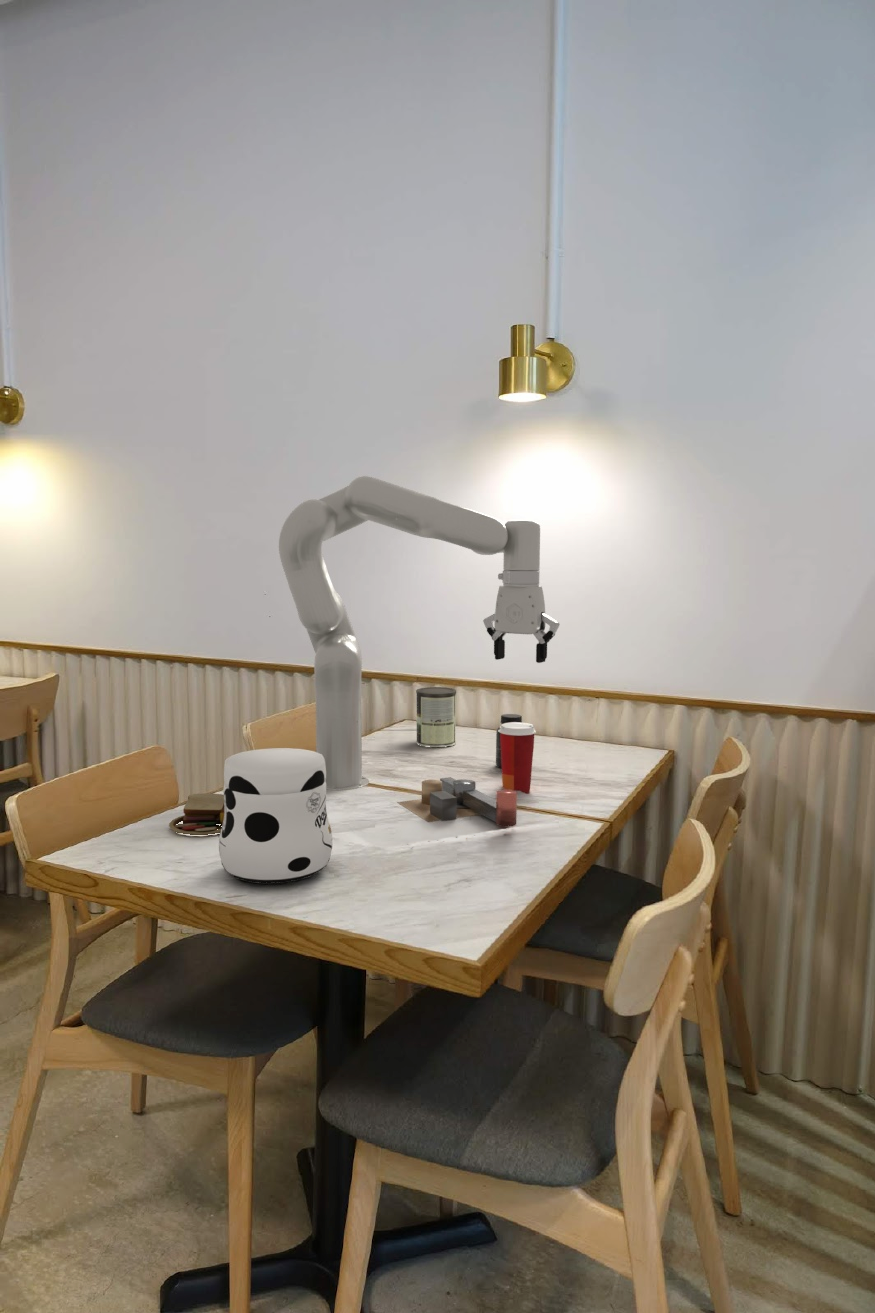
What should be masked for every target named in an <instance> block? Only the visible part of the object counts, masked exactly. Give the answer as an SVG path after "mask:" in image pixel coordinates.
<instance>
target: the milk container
mask: <svg viewBox="0 0 875 1313" xmlns="http://www.w3.org/2000/svg"><path fill="white" fill-rule="evenodd" d="M223 781H224V782H223V783H224V785H223V789H222V790H223V795H224V821H223V825H222V829H221V833H220V835H219V837H218V838H219V839H218V851H219V856H220V861H221V865H222V867H223V868H224V871H225V872H227V873H228V874H229V875H230V876H232V877H234V879H238V880H241V881H245V882H248V883H255V884H256V883H257V884H282V883H283V884H284V883H291V882H296V881H301V880H303V879H306V878H310V877H314V875H317V874H318V873H320V872H321V871H322V870H324V869H325V868H326V867H327V865H328V863H329V861H330V859H331V855H332V849H333V831H332V828H331V825H330V822H329V817H328V811H327V790H326V766H325V760H324V757H323V755H322V754H320V753H317V752H316V751H315V750H308V749H303V748H289V747H280V748H279V747H278V748H277V747H275V748H274V747H273V748H260V749H252V750H246V751H241V752H238V753H236V754H232V755H229V756H228V757H227V758H226V759H225V760H224V767H223Z"/></svg>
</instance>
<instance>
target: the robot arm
mask: <svg viewBox="0 0 875 1313" xmlns="http://www.w3.org/2000/svg"><path fill="white" fill-rule="evenodd" d="M368 521H370V522H374V523H376V524H380V525H382V526H385V527H389V528H391V529H395V530H399V531H401V532H404V533H407V534H410V535H413V536H418V537H421V538H424V539H425V538H427V539H435V540H440V541H443V542H446V543H449V544H453V545H457V546H459V547H462V548H465V549H468V550H471V551H473V553H475V554H478V555H481V556H482V555H483V556H492V555H497V554H500V553H503V569H502V572H501V573H498V575H497V579H498V580H501V581H502V583H503V585H499V586H498V587H499V588H498V591H497V595H496V596H497V597H496V603H495V609H494V610H495V611H494V613H493V614H491V615H489V616H487V617H486V618H485V617H484V619H483V621H482V622H483V624H484V626H485V629H486V632H487V634H488V635H489V636H490V637H491V640H492V641H493V654H494V659H495V661H496V660H503V659H504V658H505V656H506V655H505V653H506V651H505V649H506V644H505V643H506V642H505V641H506V640H505V639H504V637H505V636H506V634H512V635H513V634H515V635H516V634H517V635H533V636H534V637H535V639H536V640H537V641H538V642H537V643H536V646H535V648H536V649H535V650H536V652H535V654H536V655H535V662H536V663H537V664H541V663H544V662H546V659H547V657H548V643H549V642H550V641H551V640H552V639H553V638H554V637H555V636H556V633H557V631H558V629H559V627H560V622H558V621H557V620H555V619H554V618H552V617H551V616H549V615H547V614H546V604H545V596H544V591H543V586H542V585H540V568H541V567H540V563H541V562H540V560H541V558H540V557H541V556H540V554H541V552H540V551H541V525H540V523H539V522H538V521H537V520H534V519H509V520H507V521H506V520H505V521H504V520H503V521H502V520H500V519H498V518H496V517H493V516H491V515H487V514H484V513H482V512H478V511H476V510H473V509H469V508H465V507H462V506H460V505H456V504H453V503H451V502H450V503H449V502H447V501H444V500H441V499H439V498H436V497H433V496H431V495H428V494H424V493H422V492H418V491H415V490H411V489H409V488H406V487H403V486H400V485H397V484H394V483H391V482H387V481H385V480H382V479H379V478H376V477H372V476H368V475H367V476H366V475H364V476H363V475H362V476H358V477H356V478H354V479H353V480H352V481H351V482H350V483H349V485H347V486H345V487H344V488H342V489H339V490H337V491H335V492H332V493H330V494H329V495H327V496H324V497H322V498H319V499H309V500H304V501H303V502H301V503H300V504H298V505H297V506H296V507H295V508H294V509H293V510H292V512H290V514H289V515H288V516H287V518H286V519H285V521H284V523H283V524H282V527H281V530H280V532H279V539H278V553H279V560H280V563H281V566H282V569H283V572H284V575H285V578H286V580H287V585H288V588H289V590H290V593H291V595H292V598H293V601H294V605H295V606H296V607H295V608H296V610H297V615H298V619H299V621H300V623H301V624H302V626H303V627H304V628H305V629H306V632H307V634H308V637H309V640H310V641H311V642H310V643H311V645H312V647H313V650H314V654H315V656H314V663H313V664H314V665H313V667H314V668H313V669H314V690H315V692H314V693H315V694H314V695H315V698H314V699H315V700H314V701H315V727H316V728H315V745H316V751H315V752H317V753H320V754H322V755H323V757H324V760H325V766H326V791H349V790H355V789H356V790H357V789H360V788H364V787H365V786H367V785H368V784H370V780H369V778H368V777H366V776H363V774H362V771H363V770H362V768H363V763H362V760H363V758H362V757H363V753H362V750H363V749H362V748H363V747H362V746H363V743H362V738H363V736H362V734H363V733H362V732H363V730H362V674H363V673H362V672H363V671H362V669H363V668H362V667H363V666H362V664H363V663H362V659H363V658H362V651H361V647H360V644H359V642H358V639H357V637H356V634H355V630H354V628H353V626H352V622H351V619H350V617H349V614H348V611H347V609H346V606H345V604H344V600H343V599H342V597H341V596H340V594H339V593H338V592H337V591H336V590H335V587H334V585H333V582H332V580H331V577H330V574H329V571H328V567H327V564H326V562H325V559H324V556H323V553H322V551H323V550H322V546H323V543H324V542H326V541H328V540H331V539H332V538H334V537H336V536H338V535H341V534H342V533H345V532H347V531H349V530H352V529H353V528H356V527H357V526H360V525H362V524H364V523H366V522H368ZM493 623H494V624H493ZM546 624H547V625H548V626H549V629H548V631H547V632H545V629H546Z"/></svg>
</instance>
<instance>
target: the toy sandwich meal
mask: <svg viewBox="0 0 875 1313" xmlns="http://www.w3.org/2000/svg"><path fill="white" fill-rule="evenodd" d="M187 798H188V799H187V801H186V803H185V805H184V807H183V814H184V815H181V816H178V817H176V818H174V819H172V820H171V821H170V822H169V824H168V827H169V828H170V830H171V831H172V832H174V831H175V832H177V833H183V834H190V835H208V834H215V833H221V829H222V827H221V826H222V825H223V821H224V794H223V793H221V794H220V793H212V792H211V793H209V792H208V793H193V794H189V795H188V797H187ZM181 821H183V824H178V823H179V822H181ZM176 824H178V825H176ZM216 824H221V825H220V826H219V825H216ZM217 829H218V830H217ZM175 832H174V833H175ZM177 833H176V834H177Z"/></svg>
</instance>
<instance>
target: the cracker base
mask: <svg viewBox="0 0 875 1313" xmlns="http://www.w3.org/2000/svg"><path fill="white" fill-rule="evenodd" d="M396 803H397V804H399V805H401V806H402V807H404V808H405V809H407V810H408V811H410V812H412V813H413V814H414V815H416V816H417V817H419V818H421V819H422V820H424V821H425V822H427V823H432V822H438V821H440V822H444V821H450V820H457V819H460V818H466V817H474V816H481V815H482V814H480V813H478V812H476V811H475V810H473V809H471V808H469V807H467V806H466V805H464V804H460V803H457V797H455V796H453V795H451V794H449V793H448V792H446V791H439V792H431V793H430V805H426V804H423V803H422V798H418V799H412V800H403V801H397V802H396Z"/></svg>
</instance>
